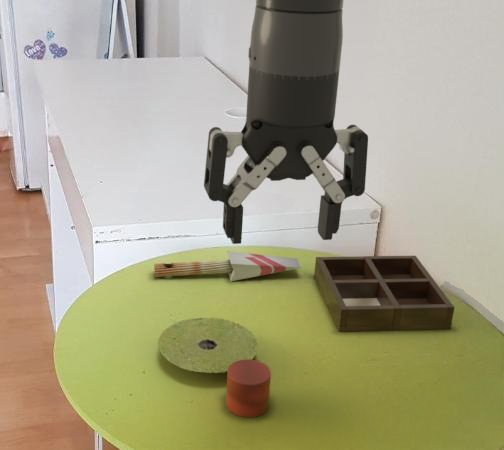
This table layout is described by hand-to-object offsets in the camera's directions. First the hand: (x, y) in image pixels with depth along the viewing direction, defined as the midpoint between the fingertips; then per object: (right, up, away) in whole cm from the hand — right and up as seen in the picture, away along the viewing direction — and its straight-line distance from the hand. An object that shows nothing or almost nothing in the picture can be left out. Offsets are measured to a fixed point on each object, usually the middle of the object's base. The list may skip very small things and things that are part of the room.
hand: (280, 238), depth 69 cm
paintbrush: (-4, -6, +34) cm, 35 cm away
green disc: (-7, -14, +16) cm, 22 cm away
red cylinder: (-3, -17, +9) cm, 20 cm away
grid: (+16, -9, +29) cm, 34 cm away
